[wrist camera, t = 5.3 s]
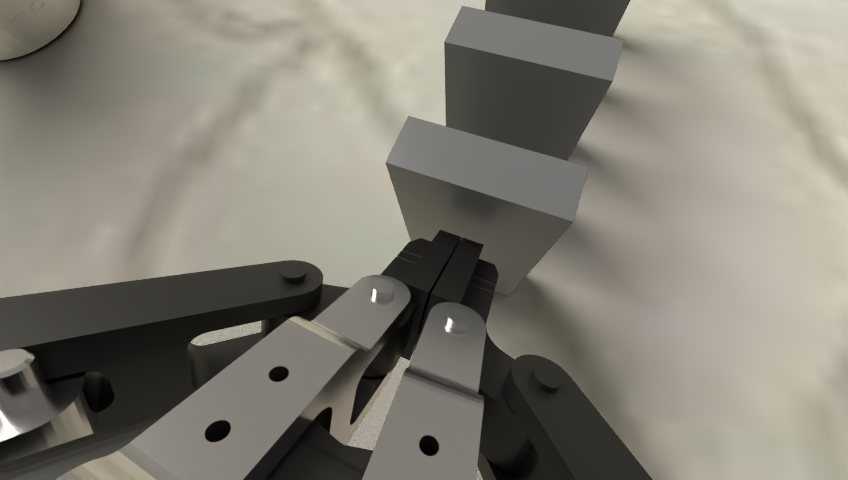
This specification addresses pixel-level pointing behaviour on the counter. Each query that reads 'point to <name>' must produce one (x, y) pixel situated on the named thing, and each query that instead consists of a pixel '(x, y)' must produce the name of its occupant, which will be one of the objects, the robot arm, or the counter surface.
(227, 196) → the counter surface
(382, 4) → the counter surface
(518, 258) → the domino
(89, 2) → the counter surface
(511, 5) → the domino
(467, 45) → the domino
